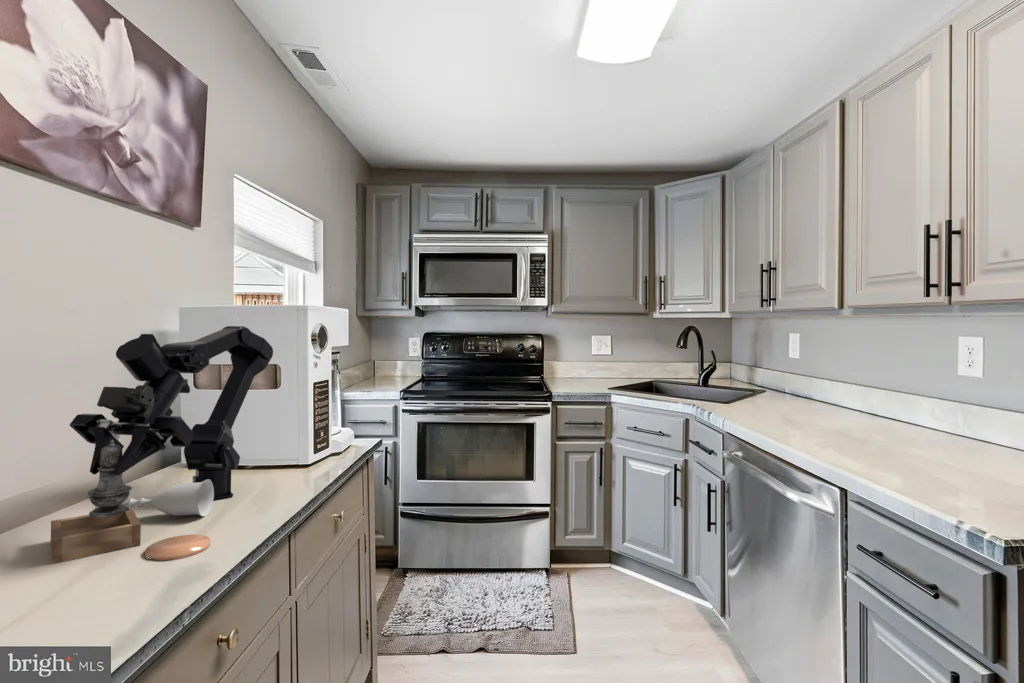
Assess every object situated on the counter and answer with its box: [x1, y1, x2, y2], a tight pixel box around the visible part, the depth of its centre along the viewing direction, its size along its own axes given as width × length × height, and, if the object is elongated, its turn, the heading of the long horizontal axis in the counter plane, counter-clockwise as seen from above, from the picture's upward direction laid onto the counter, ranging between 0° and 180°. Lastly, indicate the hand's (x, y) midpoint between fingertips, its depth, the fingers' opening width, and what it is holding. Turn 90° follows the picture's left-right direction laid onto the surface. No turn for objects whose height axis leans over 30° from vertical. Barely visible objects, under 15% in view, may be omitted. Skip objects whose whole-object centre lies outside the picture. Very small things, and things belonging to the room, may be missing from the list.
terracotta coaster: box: [144, 534, 211, 561], centre depth 85 cm, size 9×9×1 cm
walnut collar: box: [50, 507, 142, 565], centre depth 86 cm, size 11×11×4 cm
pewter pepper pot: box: [86, 439, 133, 517], centre depth 85 cm, size 6×6×12 cm
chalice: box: [94, 479, 214, 517], centre depth 99 cm, size 7×7×18 cm
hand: (104, 473), depth 84 cm, fingers closed on pewter pepper pot, 4 cm apart
